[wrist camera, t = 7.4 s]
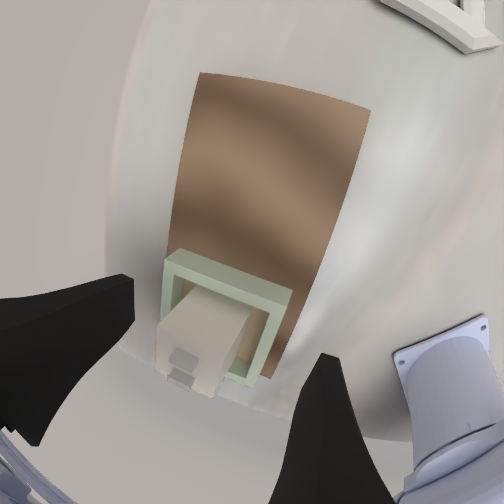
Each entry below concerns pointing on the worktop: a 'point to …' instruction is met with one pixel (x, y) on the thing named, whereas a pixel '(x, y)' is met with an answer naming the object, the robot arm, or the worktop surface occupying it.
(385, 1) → the gun
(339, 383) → the robot arm
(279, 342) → the board
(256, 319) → the holder
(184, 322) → the plug
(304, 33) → the worktop surface
